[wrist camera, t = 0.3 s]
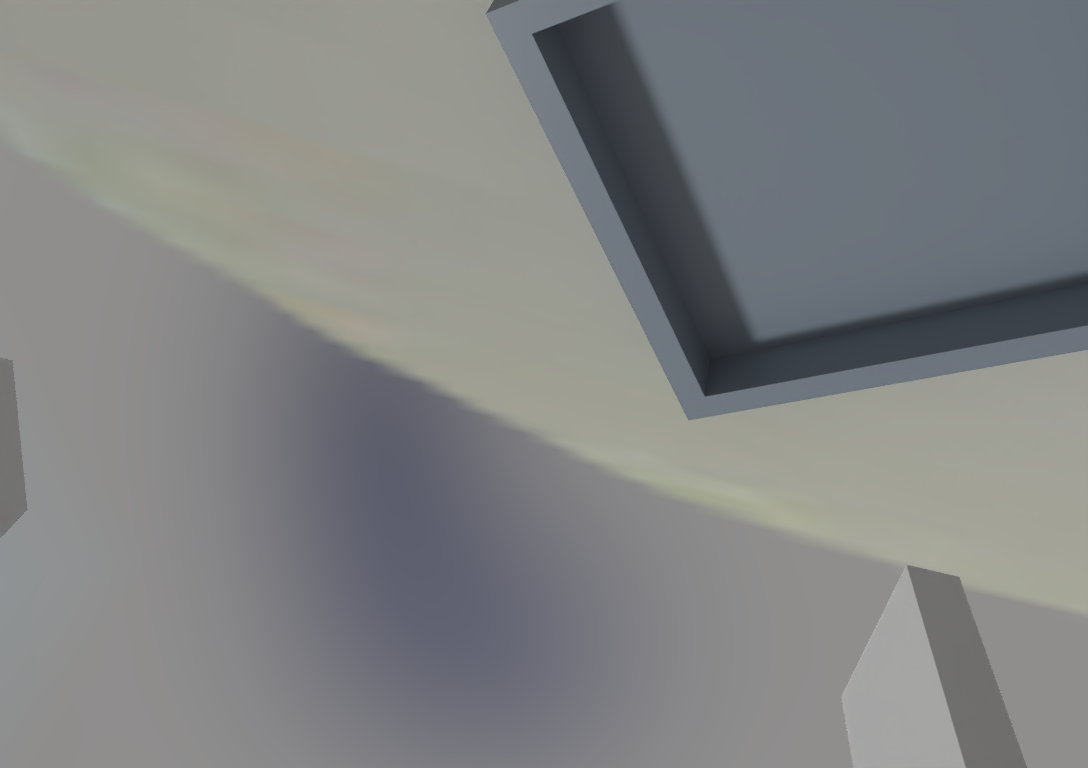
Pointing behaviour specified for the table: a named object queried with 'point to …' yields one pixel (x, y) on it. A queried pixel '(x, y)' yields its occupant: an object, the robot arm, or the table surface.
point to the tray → (823, 181)
